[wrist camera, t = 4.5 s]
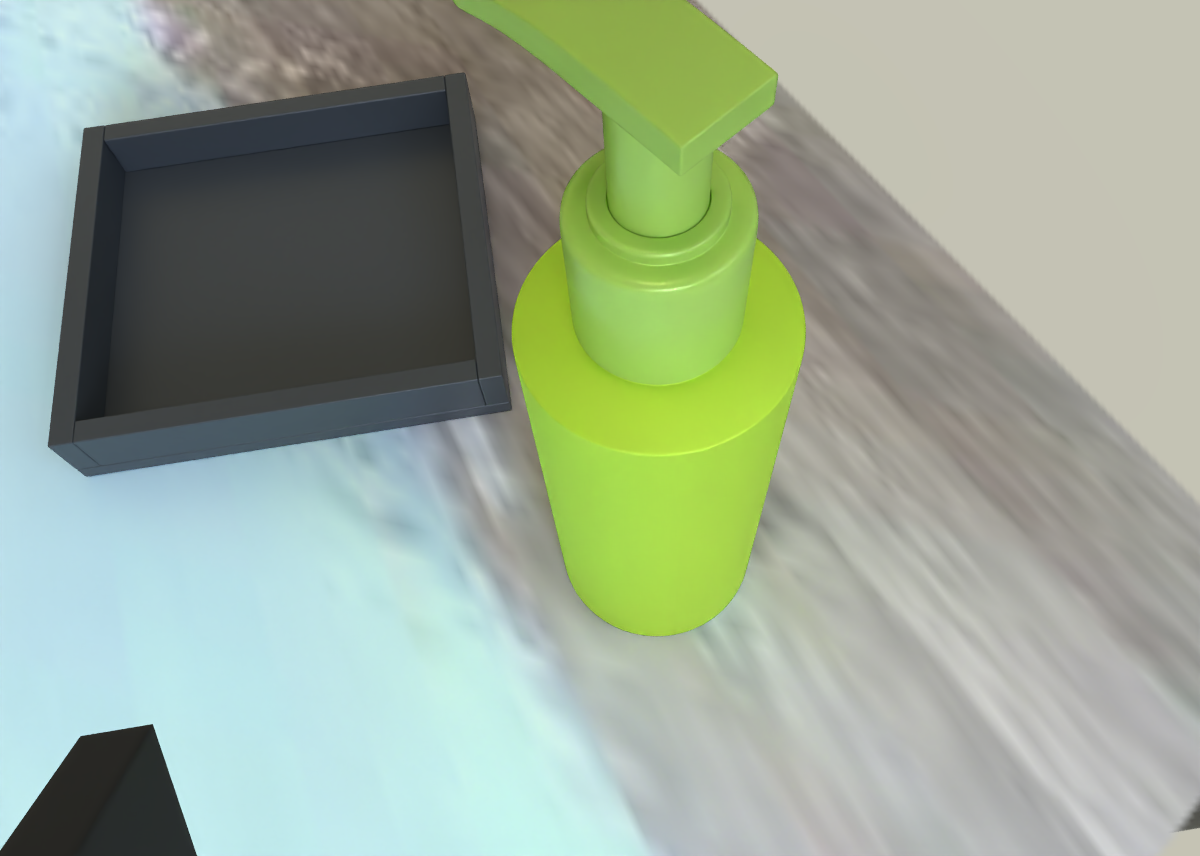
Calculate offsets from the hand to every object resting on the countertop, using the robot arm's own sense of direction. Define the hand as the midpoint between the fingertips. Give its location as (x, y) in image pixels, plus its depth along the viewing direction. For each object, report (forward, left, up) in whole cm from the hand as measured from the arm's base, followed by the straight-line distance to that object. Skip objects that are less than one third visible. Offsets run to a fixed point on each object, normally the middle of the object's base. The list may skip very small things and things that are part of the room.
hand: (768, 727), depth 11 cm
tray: (+11, -21, -18) cm, 30 cm away
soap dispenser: (0, -9, -19) cm, 21 cm away
